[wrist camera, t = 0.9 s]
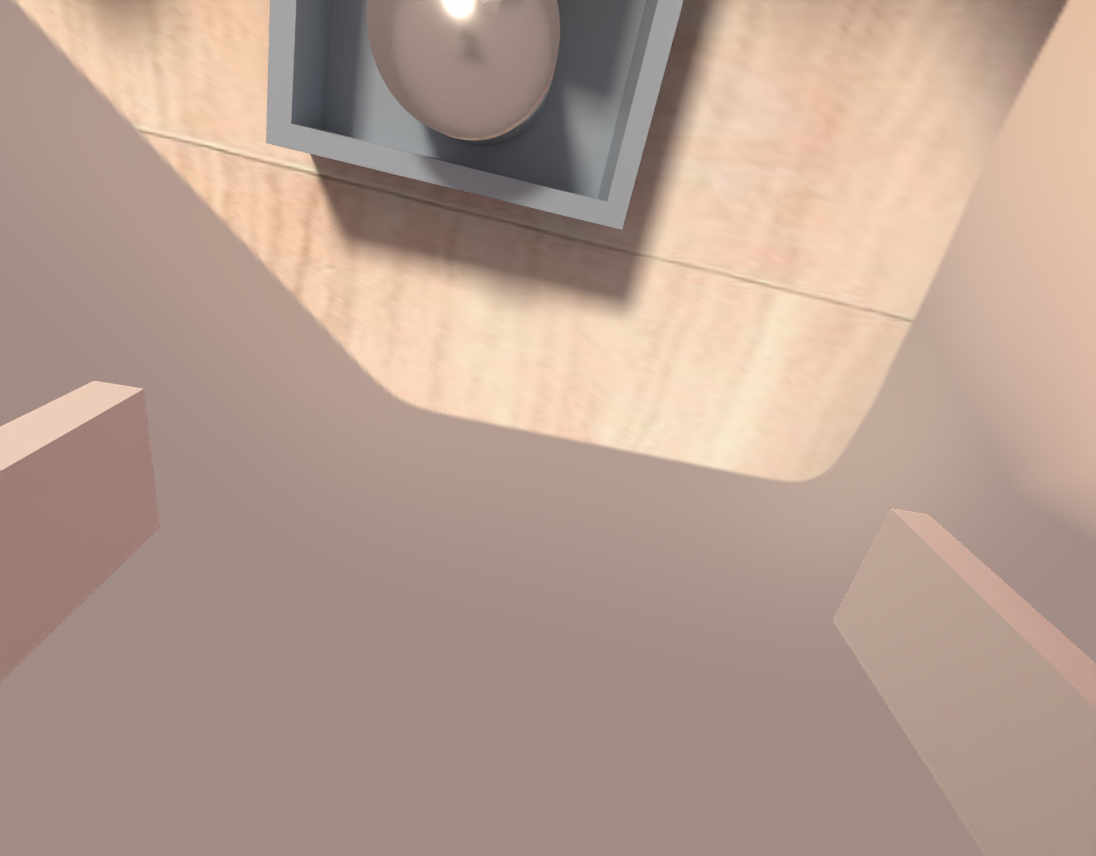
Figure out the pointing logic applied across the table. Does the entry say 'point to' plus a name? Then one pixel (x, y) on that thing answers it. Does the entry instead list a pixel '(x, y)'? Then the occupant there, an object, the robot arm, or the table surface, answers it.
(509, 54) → the metal tin
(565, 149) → the crate
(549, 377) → the table surface
